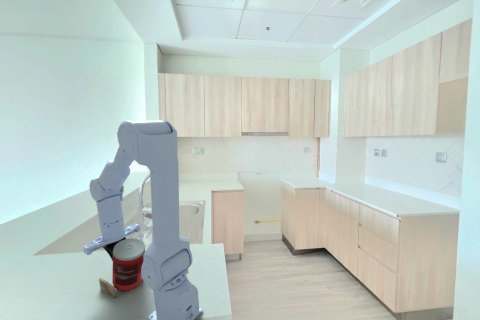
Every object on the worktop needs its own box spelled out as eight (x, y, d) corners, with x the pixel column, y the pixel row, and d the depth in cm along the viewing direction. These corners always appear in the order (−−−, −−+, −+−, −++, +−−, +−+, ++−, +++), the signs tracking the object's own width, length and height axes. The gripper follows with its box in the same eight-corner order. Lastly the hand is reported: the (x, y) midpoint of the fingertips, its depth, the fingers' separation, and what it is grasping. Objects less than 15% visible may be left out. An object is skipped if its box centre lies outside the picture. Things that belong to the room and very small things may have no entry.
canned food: (134, 265, 67) (136, 234, 64) (148, 282, 63) (151, 249, 59) (107, 278, 61) (107, 245, 58) (120, 298, 57) (121, 263, 53)
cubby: (148, 275, 65) (147, 266, 65) (114, 298, 57) (112, 288, 56) (134, 268, 69) (133, 259, 68) (100, 288, 61) (98, 278, 60)
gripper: (128, 208, 70) (133, 248, 72) (74, 227, 58) (83, 275, 60) (142, 212, 66) (147, 254, 68) (87, 233, 54) (96, 284, 56)
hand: (118, 264), depth 64 cm, fingers closed, pressing on canned food
